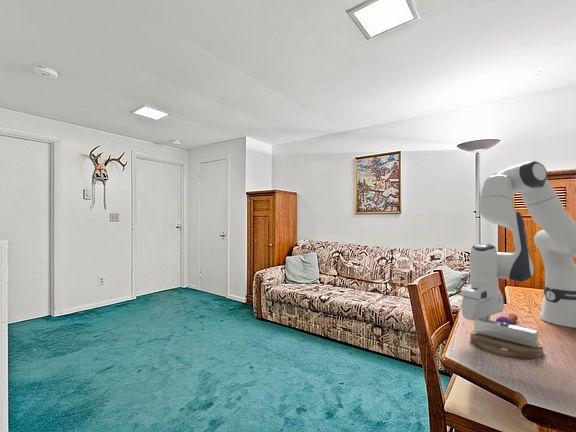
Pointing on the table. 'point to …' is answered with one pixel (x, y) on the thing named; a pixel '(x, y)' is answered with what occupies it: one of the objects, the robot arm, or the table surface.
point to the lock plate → (505, 347)
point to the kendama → (508, 319)
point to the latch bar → (507, 332)
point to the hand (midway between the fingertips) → (484, 327)
